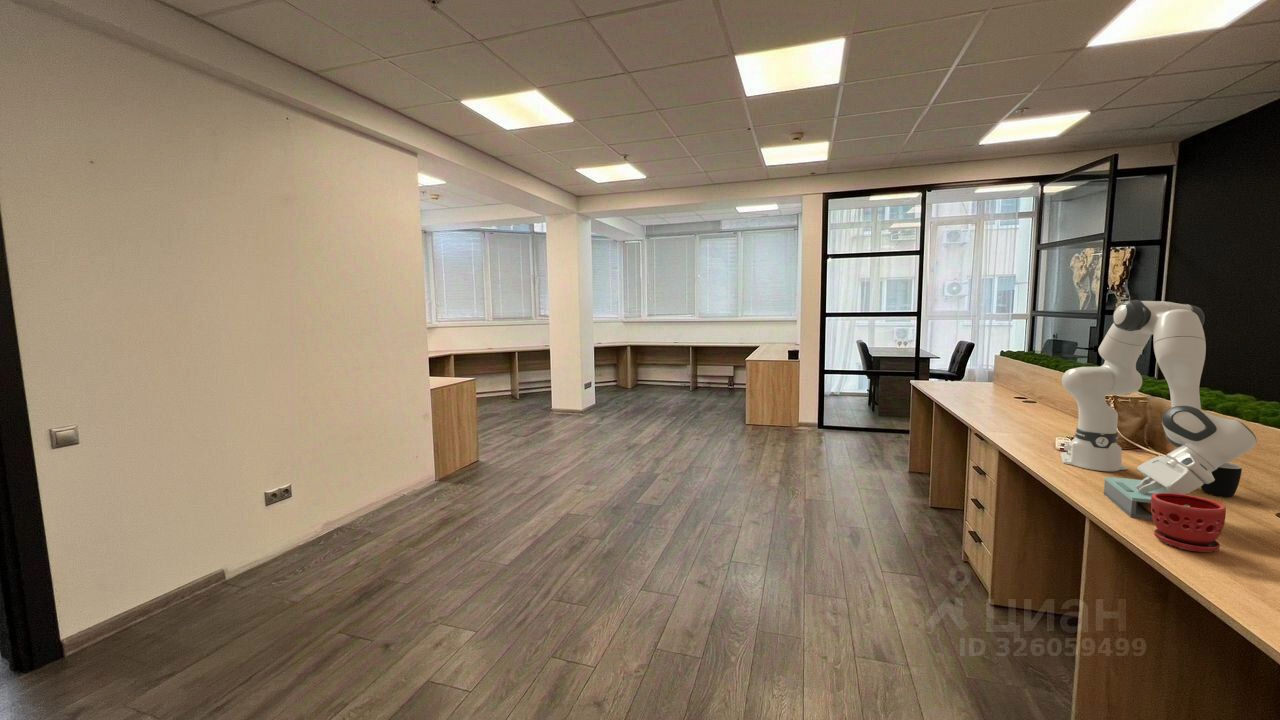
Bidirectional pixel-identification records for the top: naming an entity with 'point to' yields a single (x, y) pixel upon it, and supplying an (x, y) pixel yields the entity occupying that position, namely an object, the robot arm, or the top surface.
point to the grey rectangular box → (1128, 503)
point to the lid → (1133, 489)
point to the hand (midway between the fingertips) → (1139, 490)
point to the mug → (1224, 480)
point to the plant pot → (1187, 521)
